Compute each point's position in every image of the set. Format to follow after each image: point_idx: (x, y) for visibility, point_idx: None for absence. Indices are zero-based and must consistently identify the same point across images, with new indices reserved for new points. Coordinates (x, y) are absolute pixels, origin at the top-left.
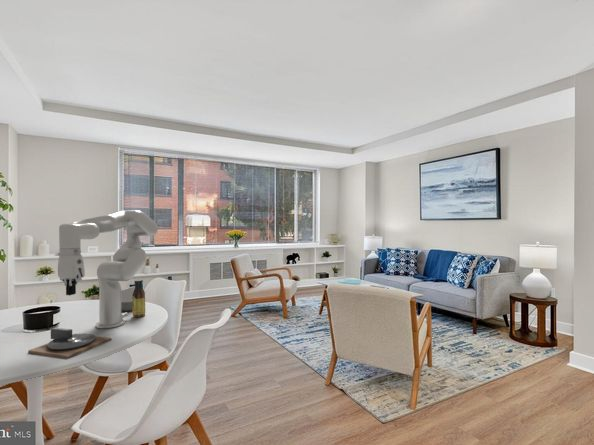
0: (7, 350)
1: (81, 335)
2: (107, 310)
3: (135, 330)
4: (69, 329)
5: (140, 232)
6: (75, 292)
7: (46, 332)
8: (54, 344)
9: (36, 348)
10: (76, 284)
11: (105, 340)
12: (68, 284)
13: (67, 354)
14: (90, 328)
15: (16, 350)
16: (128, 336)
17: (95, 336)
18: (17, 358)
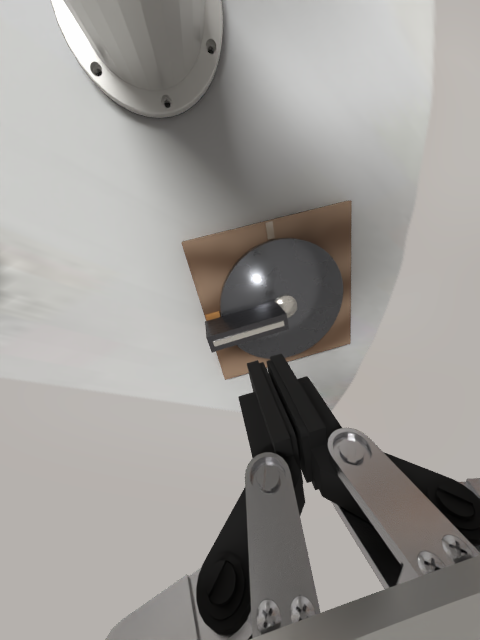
0: (155, 396)
1: (268, 266)
2: (183, 6)
3: (353, 42)
4: (277, 319)
5: None
6: (284, 360)
7: (28, 279)
8: (273, 347)
9: (228, 365)
10: (358, 432)
11: (350, 228)
12: (304, 502)
13: (341, 341)
14: (122, 138)
15: (175, 385)
16: (377, 135)
17: (286, 222)
18: (239, 395)
